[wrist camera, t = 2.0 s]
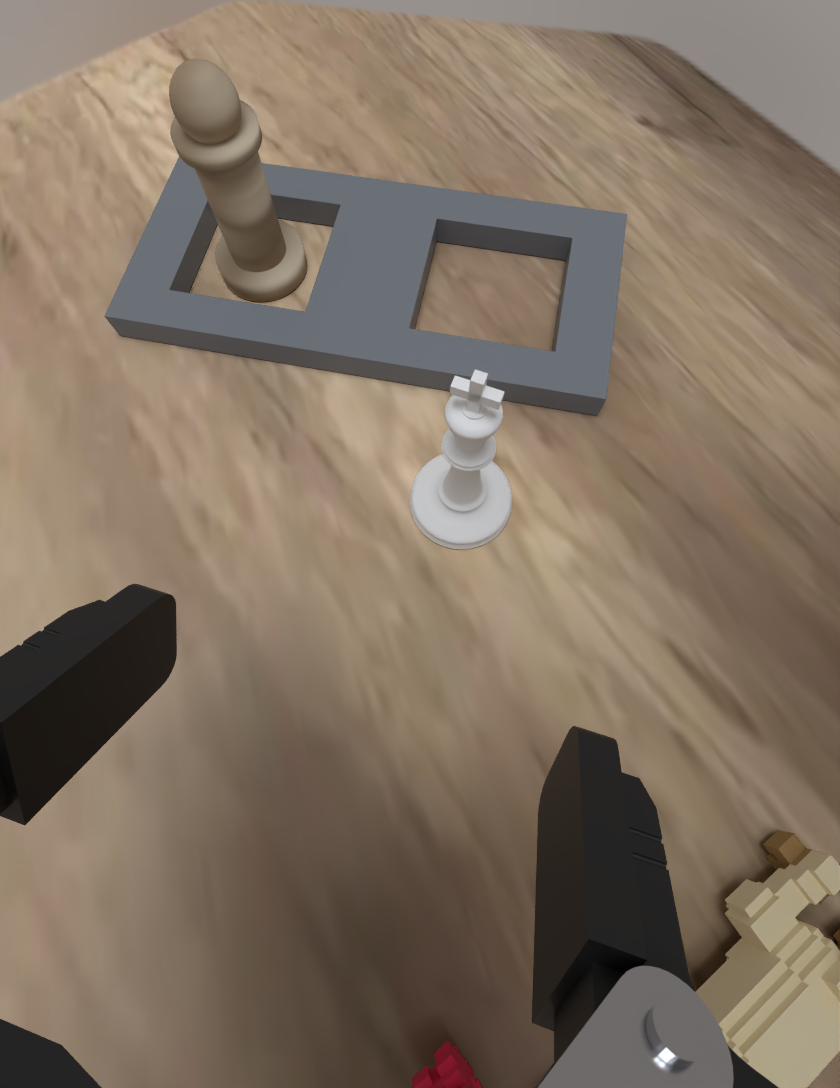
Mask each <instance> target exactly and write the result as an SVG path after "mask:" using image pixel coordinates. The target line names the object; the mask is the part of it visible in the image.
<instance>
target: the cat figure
mask: <svg viewBox="0 0 840 1088" xmlns="http://www.w3.org/2000/svg"><path fill="white" fill-rule="evenodd" d="M763 846H764V847H765V849H766V850H767V851H768V852H769V855H767V856H766V858H767V859H768V861H769V862H770V863H771V864H772V866H773V867H774V868H775V870H776V871H775V872H774V873H773V874H772V875H771V876H770V877H769V878H768V879H767V880H766V881H765V882H764V883H761V882H757V883H756V882H753V881H750V880H748V879H746V880H745V881H744V882H743V883H742V884H741V885H740V886H739V887H738V888H737V889H736V890H735V891H734V892H732V893H731V894H730V895H729V896H728V897H727V898H726V899H725V902H726V903H727V905H726V907H727V909H728V911H727V912H726V913H725V915H726V916H727V918H728V919H729V920H730V922H731V923H732V925H733V926H734V927H735V929H736V930H737V931H738V933H739V934H740V936H741V937H742V938H741V939H740V940H739V941H738V942H737V943H736V944H735V945H734V946H733V947H732V948H731V949H730V950H729V951H728V952H727V953H726V954H725V956H726V957H727V959H726V962H725V963H724V964H723V965H722V966H721V967H720V968H719V969H718V970H717V971H716V972H715V973H714V974H713V975H712V976H711V977H710V978H709V979H708V980H707V981H706V982H705V983H704V984H703V985H702V986H701V987H700V988H699V989H698V990H697V991H696V993H697V995H698V996H699V997H700V998H701V999H702V1000H703V1002H704V1003H705V1004H706V1005H707V1007H708V1008H709V1010H710V1011H711V1013H712V1014H713V1016H714V1017H715V1019H716V1021H717V1023H718V1024H719V1026H720V1028H721V1030H722V1033H723V1035H724V1037H725V1039H726V1042H727V1045H728V1046H729V1047H730V1048H731V1049H732V1050H733V1051H734V1052H735V1053H736V1054H737V1055H738V1056H739V1057H740V1058H741V1059H742V1060H744V1061H745V1062H746V1063H747V1064H748V1065H750V1066H751V1067H752V1068H753V1069H755V1070H756V1071H757V1072H759V1073H760V1074H761V1075H763V1076H764V1077H765V1078H767V1079H768V1080H769V1081H771V1082H772V1083H773V1084H775V1085H776V1086H777V1087H779V1088H807V1087H808V1086H809V1085H810V1084H811V1083H812V1082H813V1081H814V1079H815V1078H816V1077H817V1076H818V1075H819V1074H820V1073H821V1071H822V1070H823V1069H824V1068H825V1067H826V1066H827V1065H828V1064H829V1062H830V1061H831V1060H832V1059H833V1058H834V1057H835V1056H836V1054H837V1055H839V1056H840V929H839V930H838V931H837V932H836V933H835V934H834V935H833V937H834V938H835V939H836V940H837V942H838V943H839V944H838V945H837V946H836V945H835V944H834V943H833V941H832V940H831V939H828V938H826V937H824V936H823V934H822V933H821V932H820V930H819V929H818V928H817V927H814V926H812V925H809V924H807V923H805V922H802V921H800V920H798V919H796V918H795V917H796V916H797V915H798V914H799V913H800V912H801V911H802V910H803V909H804V908H805V907H806V906H807V905H808V904H809V903H812V904H814V905H817V904H818V903H821V902H822V901H823V900H824V899H825V898H826V897H827V896H828V895H832V896H834V895H835V894H836V893H837V892H838V891H839V890H840V865H839V864H838V863H837V862H836V860H835V859H834V858H833V857H832V855H830V854H826V853H822V852H818V851H814V850H810V849H806V848H805V847H804V845H803V844H802V843H801V842H800V840H799V839H798V838H797V836H796V835H795V834H793V833H789V832H784V831H780V830H778V831H777V832H776V833H775V834H773V835H772V836H771V837H770V838H769V839H768V840H767V841H766V842H765V843H764V844H763ZM434 1057H435V1064H436V1066H435V1067H433V1068H432V1069H431V1070H430V1069H429V1067H428V1065H426V1066H425V1067H424V1068H423V1069H422V1070H421V1071H420V1072H418V1073H417V1074H416V1075H415V1076H414V1077H413V1078H412V1085H413V1088H482V1086H481V1084H480V1082H479V1081H478V1079H476V1080H475V1078H474V1074H473V1070H472V1069H471V1067H470V1065H469V1063H467V1062H466V1060H465V1059H463V1058H462V1056H461V1054H460V1052H459V1050H458V1048H457V1047H456V1045H455V1046H454V1047H453V1045H452V1046H451V1044H450V1042H449V1040H448V1041H447V1042H446V1043H445V1044H444V1045H443V1046H442V1047H440V1048H439V1049H438V1050H437V1051H436V1052H435V1053H434Z"/></svg>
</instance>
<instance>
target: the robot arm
mask: <svg viewBox="0 0 840 1088" xmlns="http://www.w3.org/2000/svg"><path fill="white" fill-rule="evenodd" d="M176 654H177V644H176V602H175V599H174V597H173V596H172V595H170V594H167V593H164V592H161V591H158V590H154V589H151V588H148V587H145V586H142V585H139V584H132V585H129V586H127V587H126V588H124V589H123V590H121V591H120V592H119V593H117V594H116V595H114V596H113V597H112V598H110V599H109V600H107V601H106V602H104V601H101V600H98V601H95V602H92V603H89V604H87V605H84V606H81V607H78V608H76V609H73V610H70V611H68V612H67V613H65V614H64V615H62V616H61V617H59V618H58V619H56V620H55V621H53V622H52V623H50V624H49V625H47V626H46V627H44V630H43V631H42V632H41V631H38V632H37V633H35V634H34V635H32V636H31V637H29V638H28V639H26V640H25V641H24V643H23V644H22V645H21V646H20V645H17V646H16V647H14V648H13V649H11V650H10V651H8V652H7V653H5V654H4V655H2V656H1V657H0V816H2V817H4V818H7V819H10V820H12V821H15V822H17V823H20V824H23V825H26V824H27V823H28V822H29V821H30V820H31V819H32V818H33V817H34V816H35V815H36V814H37V813H38V812H39V811H40V810H41V808H42V807H43V806H44V805H45V804H46V803H47V802H48V801H49V800H50V799H51V798H52V797H53V796H54V795H55V794H56V793H57V792H58V791H59V790H60V789H61V788H62V787H63V786H64V785H65V784H66V783H67V782H68V781H69V780H70V779H71V778H72V777H73V776H74V775H75V774H76V773H77V772H78V771H79V770H80V769H81V768H82V767H83V766H84V765H85V764H86V763H87V762H88V761H89V760H90V759H91V758H92V756H93V755H94V754H95V753H96V752H97V751H98V750H99V749H100V748H101V747H102V746H103V745H104V744H105V743H106V742H107V741H108V740H109V739H110V738H111V737H112V736H113V735H114V734H115V733H116V732H117V731H118V730H119V729H120V728H121V727H122V726H123V725H124V724H125V723H126V722H127V721H128V720H129V719H130V718H131V717H132V716H133V715H134V714H135V713H136V712H137V711H138V710H139V709H140V708H141V707H142V706H143V704H144V703H145V702H146V701H147V700H148V699H149V698H150V697H151V696H152V695H153V694H154V693H155V692H156V691H157V690H158V689H159V688H160V687H161V686H162V685H163V684H164V683H165V681H166V680H167V679H168V677H169V675H170V674H171V672H172V669H173V667H174V664H175V661H176ZM661 839H662V835H661V830H660V825H659V820H658V814H657V809H656V807H655V805H654V803H653V801H652V800H651V798H650V796H649V794H648V793H647V791H646V789H645V787H644V786H643V784H642V782H641V780H640V779H639V778H637V777H634V776H631V775H628V774H625V773H622V772H621V765H620V758H619V751H618V745H617V742H616V740H615V739H614V738H611V737H607V736H604V735H601V734H598V733H595V732H592V731H589V730H586V729H583V728H579V727H576V726H573V727H572V728H571V729H570V730H569V732H568V734H567V736H566V738H565V740H564V742H563V744H562V747H561V749H560V751H559V753H558V755H557V757H556V759H555V761H554V763H553V765H552V767H551V770H550V772H549V774H548V776H547V778H546V780H545V783H544V786H543V789H542V793H541V798H540V803H539V811H538V837H537V870H536V903H535V935H534V968H533V1000H532V1023H534V1024H537V1025H539V1026H542V1027H544V1028H547V1029H550V1030H552V1031H554V1063H553V1065H552V1066H551V1067H550V1068H549V1070H548V1071H547V1072H546V1074H545V1075H544V1076H543V1078H542V1079H541V1080H540V1082H539V1083H538V1084H537V1086H536V1087H535V1088H779V1087H777V1086H776V1085H775V1084H773V1083H772V1082H771V1081H769V1080H768V1079H767V1078H765V1077H764V1076H763V1075H761V1074H760V1073H759V1072H757V1071H756V1070H755V1069H753V1068H752V1067H751V1066H750V1065H748V1064H747V1063H746V1062H745V1061H744V1060H742V1059H741V1058H740V1057H739V1056H738V1055H737V1054H736V1053H735V1052H734V1051H733V1050H732V1049H731V1048H730V1047H729V1046H728V1045H727V1042H726V1039H725V1037H724V1035H723V1033H722V1030H721V1028H720V1026H719V1024H718V1023H717V1021H716V1019H715V1017H714V1016H713V1014H712V1013H711V1011H710V1010H709V1008H708V1007H707V1005H706V1004H705V1003H704V1002H703V1000H702V999H701V998H700V997H699V996H698V995H697V993H696V992H694V990H693V987H692V984H691V981H690V977H689V973H688V968H687V963H686V958H685V953H684V948H683V943H682V938H681V933H680V927H679V922H678V917H677V912H676V907H675V902H674V897H673V891H672V886H671V881H670V876H669V871H668V870H666V865H667V861H666V856H665V850H664V845H663V844H661ZM0 1088H101V1087H100V1086H99V1085H98V1084H97V1082H96V1081H95V1080H94V1079H93V1078H92V1077H91V1076H90V1075H89V1074H88V1073H87V1072H86V1071H85V1070H84V1069H83V1068H82V1066H81V1065H80V1064H79V1063H78V1062H77V1061H76V1060H75V1059H74V1058H73V1057H72V1056H71V1055H70V1054H69V1053H68V1051H67V1050H66V1049H65V1048H64V1047H63V1046H62V1045H60V1044H58V1043H55V1042H53V1041H51V1040H48V1039H46V1038H44V1037H41V1036H39V1035H37V1034H34V1033H32V1032H30V1031H27V1030H25V1029H23V1028H20V1027H18V1026H16V1025H13V1024H11V1023H9V1022H6V1021H4V1020H2V1019H0Z"/></svg>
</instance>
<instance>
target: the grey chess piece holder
mask: <svg viewBox="0 0 840 1088" xmlns="http://www.w3.org/2000/svg"><path fill="white" fill-rule="evenodd" d="M261 164H262V167H263V170H264V174H265V177H266V180H267V184H268V187H269V190H270V194H271V197H272V201H273V204H274V207H275V211H276V214H277V217H278V218H281V219H288V220H294V221H301V222H308V223H315V224H322V225H328V226H334V227H333V230H332V233H331V236H330V239H329V242H328V245H327V248H326V251H325V254H324V257H323V260H322V263H321V266H320V269H319V272H318V275H317V278H316V281H315V284H314V287H313V290H312V293H311V296H310V299H309V303H308V306H307V309H306V312H303V311H297V310H291V309H285V308H278V307H272V306H266V305H260V304H253V303H247V302H241V301H235V300H228V299H222V298H216V297H210V296H203V295H197V294H191V293H189V291H190V289H191V286H192V284H193V281H194V279H195V277H196V274H197V272H198V269H199V267H200V265H201V262H202V260H203V257H204V255H205V253H206V250H207V248H208V245H209V243H210V241H211V238H212V236H213V233H214V231H215V229H216V226H217V224H218V223H217V221H216V218H215V216H214V213H213V211H212V209H211V206H210V204H209V202H208V199H207V197H206V195H205V192H204V190H203V188H202V185H201V183H200V181H199V178H198V176H197V173H196V171H195V169H194V168H192V167H190V166H189V165H187V164H186V163H185V162H184V161H183V160H182V159H181V158H180V156H179V158H178V160H177V162H176V164H175V167H174V169H173V171H172V173H171V175H170V177H169V179H168V181H167V184H166V186H165V188H164V190H163V192H162V194H161V196H160V199H159V201H158V203H157V205H156V207H155V209H154V211H153V213H152V216H151V218H150V220H149V222H148V224H147V226H146V228H145V231H144V233H143V235H142V237H141V239H140V241H139V243H138V245H137V248H136V250H135V252H134V254H133V256H132V258H131V260H130V263H129V265H128V267H127V269H126V271H125V273H124V275H123V277H122V280H121V282H120V284H119V286H118V288H117V290H116V292H115V295H114V297H113V299H112V301H111V303H110V305H109V307H108V309H107V312H106V314H105V318H106V319H107V320H108V321H109V322H110V324H111V325H112V326H113V327H114V329H115V330H116V331H117V332H118V334H119V335H120V336H125V337H131V338H137V339H143V340H149V341H155V342H161V343H167V344H173V345H179V346H185V347H190V348H196V349H202V350H208V351H214V352H220V353H226V354H232V355H238V356H244V357H250V358H256V359H262V360H268V361H274V362H280V363H286V364H292V365H298V366H304V367H310V368H316V369H321V370H327V371H333V372H339V373H345V374H351V375H357V376H363V377H369V378H375V379H381V380H387V381H393V382H399V383H405V384H411V385H417V386H423V387H429V388H435V389H441V390H447V391H450V386H451V384H452V381H453V379H454V377H455V376H458V377H462V378H465V379H468V380H471V377H472V375H473V373H474V370H475V369H476V370H479V371H482V372H485V373H488V378H487V383H486V386H489V387H492V388H495V389H498V390H501V391H504V396H503V400H506V401H512V402H518V403H524V404H530V405H536V406H542V407H548V408H554V409H560V410H566V411H572V412H578V413H584V414H590V415H595V416H597V415H598V413H599V411H600V409H601V408H602V406H603V404H604V402H605V400H606V397H607V388H608V379H609V370H610V361H611V352H612V343H613V334H614V325H615V316H616V308H617V299H618V290H619V281H620V272H621V263H622V254H623V245H624V236H625V227H626V218H627V214H623V213H615V212H608V211H601V210H594V209H587V208H580V207H572V206H565V205H558V204H551V203H544V202H537V201H529V200H522V199H515V198H508V197H501V196H494V195H486V194H479V193H472V192H465V191H458V190H451V189H443V188H436V187H429V186H422V185H415V184H408V183H400V182H393V181H386V180H379V179H372V178H365V177H357V176H350V175H343V174H336V173H329V172H322V171H314V170H307V169H300V168H293V167H286V166H278V165H271V164H264V163H261ZM436 241H437V242H444V243H451V244H458V245H464V246H471V247H478V248H485V249H492V250H498V251H505V252H512V253H519V254H526V255H532V256H539V257H546V258H553V259H560V260H566V262H565V268H564V275H563V281H562V288H561V294H560V301H559V307H558V314H557V320H556V327H555V334H554V340H553V347H552V351H547V350H541V349H535V348H528V347H522V346H516V345H510V344H503V343H497V342H491V341H485V340H478V339H472V338H466V337H460V336H453V335H447V334H441V333H435V332H428V331H422V330H416V329H415V325H416V321H417V317H418V313H419V309H420V305H421V301H422V297H423V293H424V289H425V285H426V281H427V277H428V273H429V269H430V265H431V261H432V257H433V253H434V249H435V245H436Z"/></svg>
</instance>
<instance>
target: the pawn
mask: <svg viewBox="0 0 840 1088" xmlns="http://www.w3.org/2000/svg"><path fill="white" fill-rule="evenodd" d="M169 96H170V103H171V107H172V110H173V113H174V115H175V118H174V120H173V122H172V125H171V132H170V133H171V138H172V141H173V143H174V145H175V148H176V150H177V152H178V154H179V156H180V158H181V159H182V160H183V161H184V162H185V163H186V164H187V165H189V166H190V167H192V168H194V169H195V171H196V173H197V176H198V178H199V181H200V183H201V185H202V188H203V190H204V192H205V195H206V197H207V199H208V202H209V204H210V206H211V209H212V211H213V213H214V216H215V218H216V221H217V223H218V225H219V228H220V230H221V232H222V235H223V236H222V237H221V239H220V240H219V242H218V244H217V248H216V253H215V258H216V263H217V265H218V268H219V270H220V272H221V274H222V276H223V278H224V281H225V283H226V285H227V286H228V288H229V289H230V290H231V291H232V292H233V293H234V294H236V295H237V296H239V297H241V298H243V299H245V300H249V301H253V302H268V301H274V300H277V299H280V298H282V297H285V296H287V295H288V294H290V293H291V292H293V291H294V290H295V289H296V288H297V287H298V286H299V285H300V284H301V283H302V281H303V279H304V277H305V275H306V271H307V260H306V256H305V252H304V248H303V245H302V241H301V238H300V236H299V234H298V233H297V231H296V230H295V229H294V228H293V227H292V226H291V225H289V224H287V223H286V222H283V221H281V220H278V217H277V214H276V211H275V207H274V204H273V201H272V197H271V194H270V190H269V187H268V184H267V180H266V177H265V174H264V170H263V167H262V164H261V160H260V157H259V154H258V150H259V148H260V145H261V142H262V133H261V129H260V126H259V122H258V119H257V116H256V113H255V112H254V110H253V109H252V108H251V107H250V106H249V105H248V104H246V103H245V102H243V101H241V100H240V99H239V96H238V93H237V90H236V88H235V86H234V84H233V83H232V81H231V80H230V78H229V77H228V76H227V74H226V73H225V72H224V71H223V70H222V69H221V68H219V67H218V66H216V65H215V64H213V63H211V62H209V61H206V60H202V59H191V60H188V61H185V62H184V63H182V64H181V65H180V66H179V67H178V68H177V69H176V70H175V72H174V73H173V76H172V78H171V82H170V87H169Z"/></svg>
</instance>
